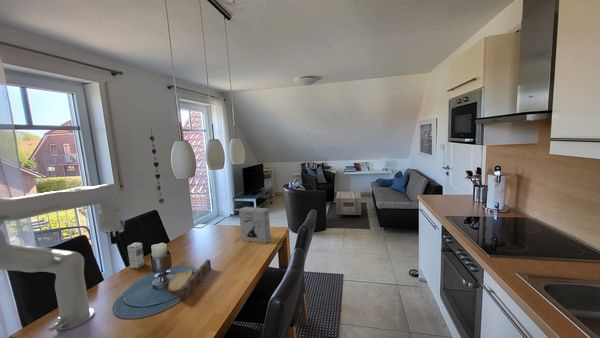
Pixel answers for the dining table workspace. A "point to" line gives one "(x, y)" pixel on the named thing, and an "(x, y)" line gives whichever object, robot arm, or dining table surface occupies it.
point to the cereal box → (255, 224)
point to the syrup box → (136, 255)
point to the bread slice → (179, 281)
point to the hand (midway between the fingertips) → (115, 243)
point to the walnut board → (194, 280)
